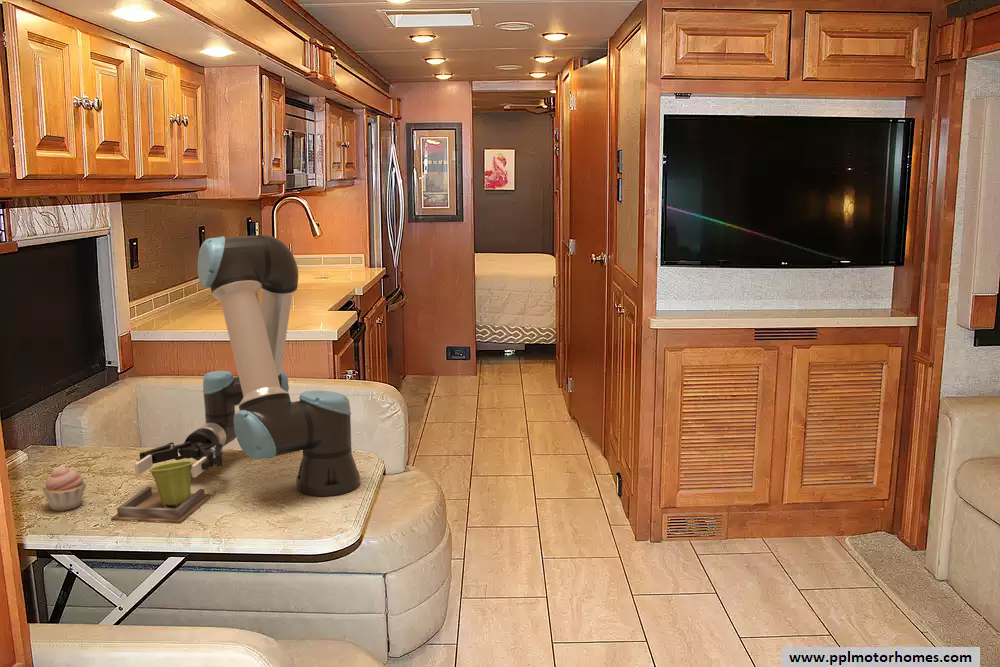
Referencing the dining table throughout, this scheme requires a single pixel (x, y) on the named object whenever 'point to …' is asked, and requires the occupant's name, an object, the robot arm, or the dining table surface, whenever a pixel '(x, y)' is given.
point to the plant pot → (173, 481)
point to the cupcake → (64, 489)
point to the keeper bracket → (159, 507)
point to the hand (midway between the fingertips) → (164, 470)
